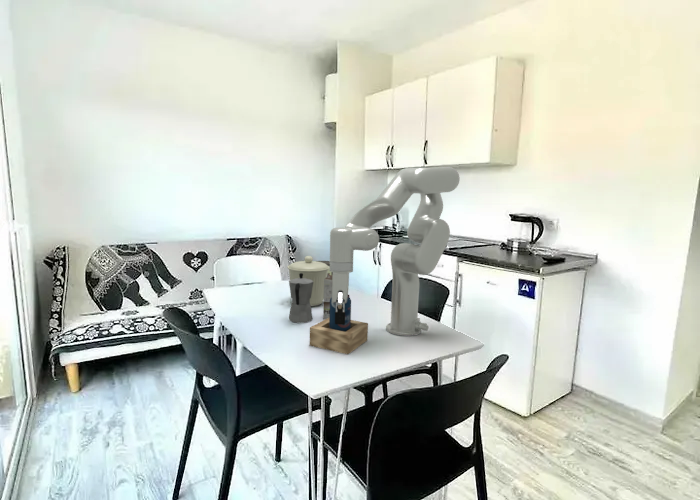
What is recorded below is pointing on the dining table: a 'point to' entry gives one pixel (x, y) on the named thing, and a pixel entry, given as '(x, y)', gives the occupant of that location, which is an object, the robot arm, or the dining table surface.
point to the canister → (311, 276)
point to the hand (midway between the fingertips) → (340, 319)
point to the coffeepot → (300, 299)
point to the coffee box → (327, 296)
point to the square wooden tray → (338, 336)
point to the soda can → (347, 316)
